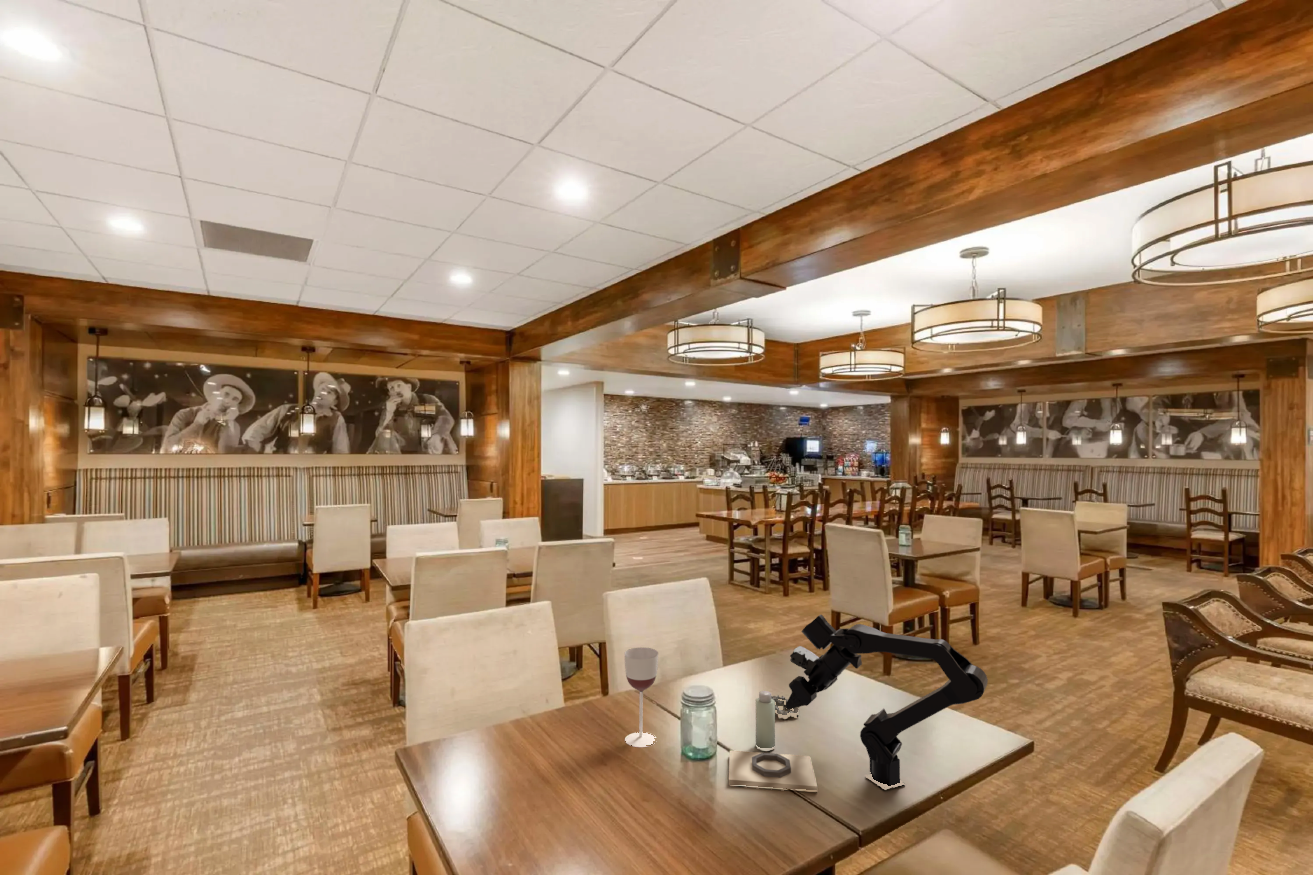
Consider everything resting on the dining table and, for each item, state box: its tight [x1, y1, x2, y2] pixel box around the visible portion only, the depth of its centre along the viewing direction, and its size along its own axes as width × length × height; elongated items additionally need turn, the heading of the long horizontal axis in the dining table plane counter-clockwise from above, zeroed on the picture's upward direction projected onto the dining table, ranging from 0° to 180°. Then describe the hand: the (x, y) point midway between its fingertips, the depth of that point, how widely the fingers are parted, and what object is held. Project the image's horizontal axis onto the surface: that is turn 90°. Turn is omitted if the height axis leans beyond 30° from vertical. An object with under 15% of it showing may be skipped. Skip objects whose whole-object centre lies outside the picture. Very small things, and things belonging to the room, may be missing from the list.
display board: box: [728, 750, 818, 791], centre depth 144 cm, size 20×14×3 cm
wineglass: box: [624, 646, 659, 748], centre depth 162 cm, size 9×10×23 cm
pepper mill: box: [755, 690, 776, 748], centre depth 158 cm, size 5×5×14 cm
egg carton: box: [771, 694, 800, 715], centre depth 180 cm, size 11×8×4 cm
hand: (793, 701), depth 155 cm, fingers open, 9 cm apart
